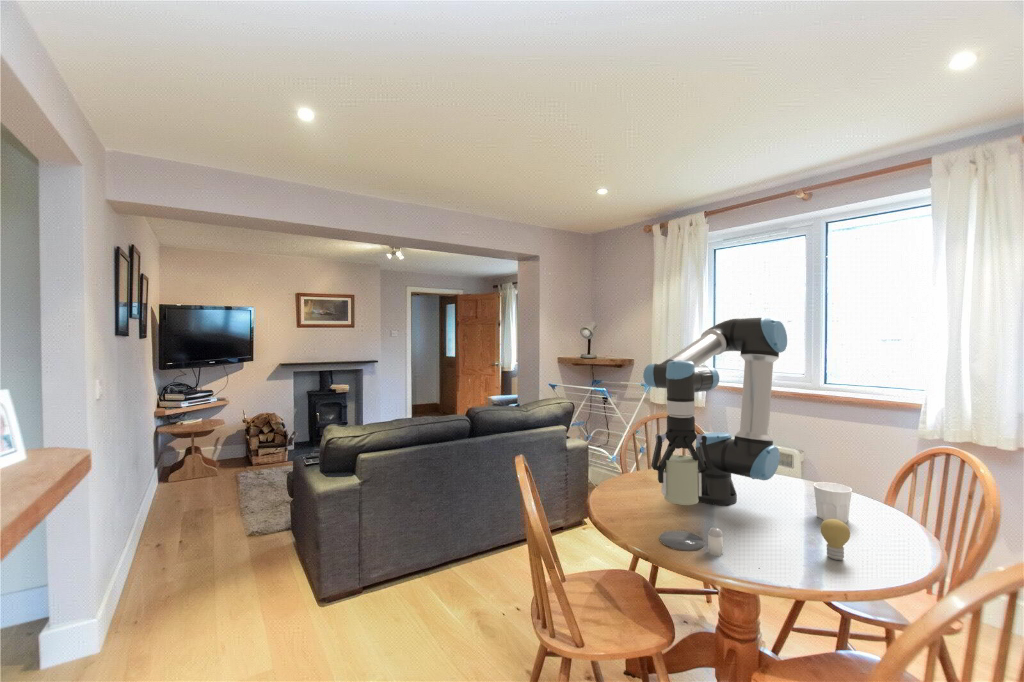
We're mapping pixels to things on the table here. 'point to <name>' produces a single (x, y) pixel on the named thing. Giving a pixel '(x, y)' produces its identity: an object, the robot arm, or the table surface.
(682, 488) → the can
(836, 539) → the light bulb
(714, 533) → the salt shaker
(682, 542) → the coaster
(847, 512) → the cup
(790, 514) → the table surface
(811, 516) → the table surface
